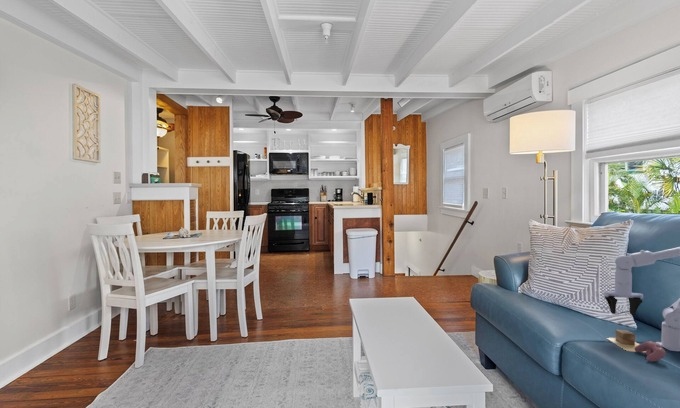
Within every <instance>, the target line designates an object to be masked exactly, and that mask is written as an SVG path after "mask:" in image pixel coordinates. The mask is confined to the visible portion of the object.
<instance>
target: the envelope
mask: <svg viewBox="0 0 680 408" xmlns="http://www.w3.org/2000/svg"><path fill="white" fill-rule="evenodd" d="M605 339H606V340H608V341H609V342H611V343H612V344H614V345H616V346H617V347H619V348H621V349H622V348H623V349H622V350H624V351H625V350H626V351H625V352H631V353H633V352H634V353H637V352H636V351H635V347H636V346H638V345H640V344H641V343H638V342H636V341H635V345H625V344H621V343H620V342H618V341H616V337H609V338H605ZM642 353H645V354H646V351H644V352H642Z"/></svg>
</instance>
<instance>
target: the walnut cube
mask: <svg viewBox="0 0 680 408" xmlns="http://www.w3.org/2000/svg"><path fill="white" fill-rule="evenodd" d="M615 338H616V341H618V342H620V343H621V344H625V345H635V342H636V334H635V333H633V332H631V331H629V330H626V329H615Z"/></svg>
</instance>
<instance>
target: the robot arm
mask: <svg viewBox="0 0 680 408" xmlns="http://www.w3.org/2000/svg"><path fill="white" fill-rule="evenodd" d="M677 257H678V258H679V257H680V246H678V247H673V248H669V249H664V250H660V251H655V252H653V251H650V250H645V249H641V250H640V251H639V252H633V253H629V252H627V253H626V254H625V255H624V254H621V255H619V256H617V257H615V260H614V264H615V265H616V266H615V272H614V290H610V291H607V290H604V291H603V294H602V295H603V296H604V299H605V300H606V302H607V304H608V307H609V309H610V310H609V311H610V313H611V314H612V315H615V314H616V309H617V302H618V299H617V298H627V299H628V303H629V314H630V315H632V316H635V315H636V312H637V311H638V308H639V307H640V306H641V304H642V303H643V300H644V294H643V293H639V292H633V289H632V288H633V273H632V268H633V267H634V268H636V267H637V268H638V267H644V266H649V265H654V264H655V263H656V261H659V260H666V259H671V258H677ZM662 317H663V318H664V320H663V321H662V322H661V341H655V343H657V344H659V345H660V346H661V347H662V348H663V349H664V348H665V349H666V350H667V351H670V352H671V351H672V352H680V297H679V298H678V299H677V300H676V301H675V302H673V303H672V304H671V305H670V306H669V307H665V308H664V309H663V310H662Z"/></svg>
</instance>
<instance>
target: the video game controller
mask: <svg viewBox="0 0 680 408" xmlns="http://www.w3.org/2000/svg"><path fill="white" fill-rule="evenodd" d="M639 344H640V345H638V346H636V347H635V351H636V352H635V353H643V352H644V351H646V353H645V355H647V356H646V358H645V359H646V361H647V362H651V363H653V362H657V361H659V360H660V359H664V357H665V356H666V350H665V349H664V347H662V346H660V345H659V344H657V343H656V341H655V342H654V341H650V340H647V341H644V342H643V343H639Z"/></svg>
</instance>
